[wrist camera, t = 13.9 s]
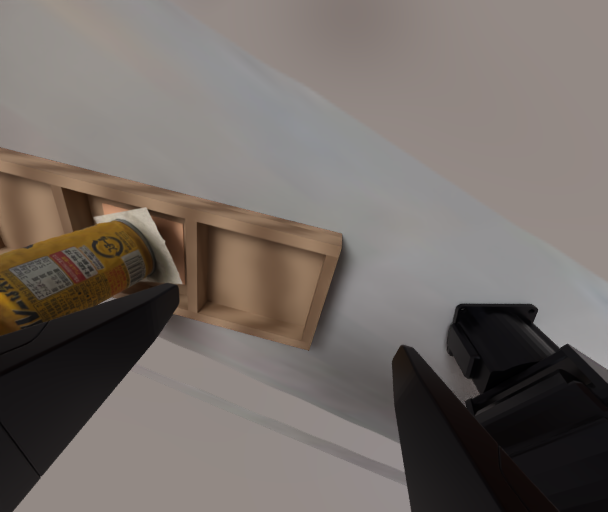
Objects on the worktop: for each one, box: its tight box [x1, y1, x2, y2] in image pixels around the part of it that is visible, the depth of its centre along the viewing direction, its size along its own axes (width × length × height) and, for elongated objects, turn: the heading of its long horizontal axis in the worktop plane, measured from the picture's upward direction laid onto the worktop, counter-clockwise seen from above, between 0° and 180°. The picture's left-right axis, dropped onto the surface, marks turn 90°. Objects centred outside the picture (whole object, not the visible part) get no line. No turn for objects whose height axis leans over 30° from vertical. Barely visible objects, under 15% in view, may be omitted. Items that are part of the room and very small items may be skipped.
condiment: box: [0, 207, 182, 336], centre depth 17 cm, size 7×8×12 cm
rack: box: [0, 148, 342, 351], centre depth 23 cm, size 37×12×3 cm, turn 78°
